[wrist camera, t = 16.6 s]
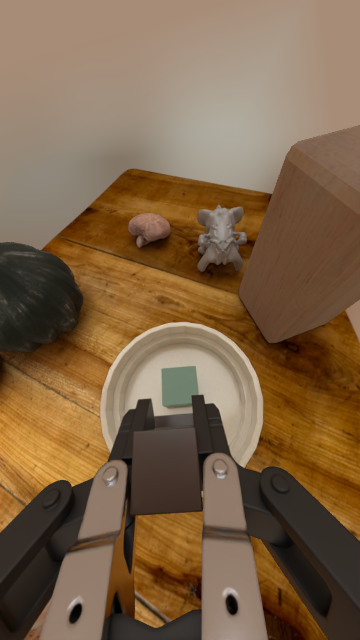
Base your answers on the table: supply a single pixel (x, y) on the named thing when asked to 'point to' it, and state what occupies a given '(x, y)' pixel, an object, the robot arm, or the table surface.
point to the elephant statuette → (220, 237)
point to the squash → (35, 298)
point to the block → (308, 239)
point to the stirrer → (166, 468)
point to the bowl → (212, 378)
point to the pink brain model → (149, 228)
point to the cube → (178, 386)
